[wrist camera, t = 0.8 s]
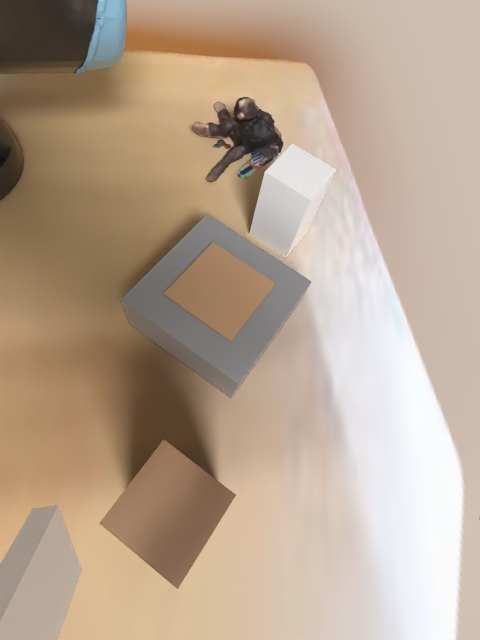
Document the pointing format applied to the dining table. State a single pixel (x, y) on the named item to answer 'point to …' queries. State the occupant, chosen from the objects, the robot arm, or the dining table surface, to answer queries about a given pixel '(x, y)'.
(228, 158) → the stuffed animal
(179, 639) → the dining table surface
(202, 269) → the base block
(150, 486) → the walnut block
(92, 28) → the robot arm
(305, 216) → the white block
